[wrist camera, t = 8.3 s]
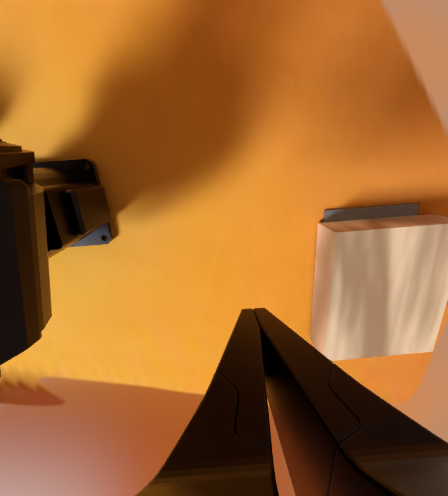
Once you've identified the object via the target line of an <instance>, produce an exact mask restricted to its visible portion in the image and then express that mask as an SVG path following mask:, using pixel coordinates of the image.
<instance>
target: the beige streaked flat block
mask: <svg viewBox="0 0 448 496" xmlns="http://www.w3.org/2000/svg"><path fill="white" fill-rule="evenodd" d="M447 300H448V217H446V216H441V215H437V214H426V215H413V216H400V217H388V218H375V219H362V220H350V221H337V222H324V223H318V230H317V245H316V260H315V275H314V290H313V305H312V320H311V335H310V339H311V340H312V342H313V344H314V346H315V348H316V349H317V350H318V351H319V352H321V353H322V354H323V355H324V356H326V357H327V358H328V359H329V360H331V361H335V360H346V359H357V358H368V357H379V356H389V355H400V354H411V353H422V352H433V349H434V345H435V342H436V338H437V335H438V331H439V328H440V324H441V321H442V317H443V314H444V310H445V307H446V303H447Z"/></svg>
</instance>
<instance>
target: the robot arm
mask: <svg viewBox="0 0 448 496" xmlns="http://www.w3.org/2000/svg"><path fill="white" fill-rule="evenodd" d="M86 163H88V164H89V165H90V169H89V170H88V169H86V167H85V166H86ZM110 219H111V217H110V213H109V208H108V204H107V200H106V196H105V191H104V188H103V187H102V186H101V185H100V182H99V177H98V173H97V169H96V165H95V163H94V162H93V161H92V160H89V159H80V160H66V161H52V162H38V163H35V158H34V152H33V151H28V150H23V149H22V147H21V146H19V145H14V144H9V143H6V142H3V141H2V140H1V139H0V365H2V364H3V363H5V362H7V361H8V360H10V359H12V358H13V357H15V356H17V355H19V354H20V353H22V352H24V351H25V350H27V349H28V348H29V347H31V346H32V345H33V344H34V343H35V342H37V341H38V340H39V339H40V338H41V337H42V334H41V331H42V330H43V329H44V328H45V326H46V324H47V323H48V321H49V319H50V318H51V316H52V313H51V293H50V277H49V262H48V258H50V257H51V256H53V255H55V254H57V253H58V252H60V251H62V250H64V249H65V248H67V247H75V246H87V245H100V244H108V243H109V242H110V241H112V239H113V238H112V232H111V228H110V224H109V221H110ZM103 235H105V236H107V240H105V239H104V238H103ZM0 377H1V370H0ZM267 398H268V402H269V405H270V409H271V412H272V416H273V419H274V423H275V426H276V430H277V433H278V436H279V440H280V443H281V447H282V450H283V454H284V457H285V461H286V464H287V468H288V471H289V475H290V478H291V482H292V485H293V488H294V492H295V495H296V496H448V443H447V442H446V441H444V440H442V439H441V438H439V437H438V436H436V435H435V434H433V433H432V432H430V431H429V430H427V429H426V428H424V427H423V426H421V425H420V424H418V423H417V422H415V421H414V420H413V419H411V418H410V417H408V416H407V415H405V414H404V413H402V412H401V411H399V410H398V409H396V408H395V407H393V406H392V405H390V404H389V403H387V402H386V401H384V400H383V399H382V398H380V397H379V396H377V395H376V394H374V393H373V392H372V391H370V390H369V389H367V388H366V387H364V386H363V385H362V384H360V383H359V382H358V381H356V380H355V379H354V378H352V377H351V376H350V375H348V374H347V373H346V372H344V371H343V370H342V369H341V368H339V367H338V366H337V365H336V364H333V362H332V361H331V360H329V359H328V358H327V357H326V356H324V355H323V354H322V353H321V352H319V351H318V350H317V349H316V348H314V347H313V346H312V345H310V344H309V343H308V342H307V341H305V340H304V339H303V338H302V337H300V336H299V335H298V334H297V333H295V332H294V331H293V330H292V329H290V328H289V327H288V326H287V325H285V324H284V323H283V322H282V321H280V320H279V319H278V318H277V317H275V316H274V315H273V314H272V313H270V312H269V311H268V310H267V309H265V308H255V309H254V310H253V309H242V310H241V313H240V315H239V317H238V320H237V322H236V324H235V327H234V329H233V332H232V334H231V336H230V339H229V341H228V343H227V346H226V348H225V350H224V353H223V355H222V357H221V360H220V362H219V364H218V367H217V369H216V372H215V374H214V376H213V378H212V381H211V383H210V385H209V387H208V389H207V391H206V393H205V396H204V398H203V399H202V401H201V403H200V405H199V406H198V408H197V410H196V412H195V413H194V415H193V417H192V418H191V420H190V422H189V424H188V425H187V427H186V428H185V430H184V432H183V434H182V435H181V437H180V438H179V440H178V442H177V443H176V445H175V447H174V448H173V450H172V452H171V453H170V455H169V457H168V458H167V460H166V461H165V463H164V464H163V466H162V467H161V469H160V470H159V472H158V473H157V474H156V475H155V477H154V478H153V479H152V480H151V481H150V482H149V483H148V484H147V485H146V486H145V487H144V488H143V489H142V490H141V491H140V492H138V493H137V494H136V495H135V496H279V494H278V490H277V484H276V479H275V471H274V464H273V455H272V444H271V433H270V423H269V413H268V403H267Z"/></svg>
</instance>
